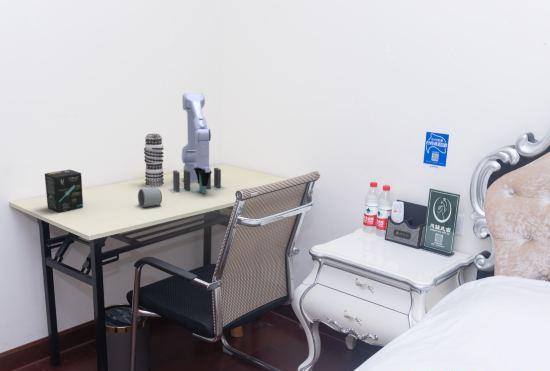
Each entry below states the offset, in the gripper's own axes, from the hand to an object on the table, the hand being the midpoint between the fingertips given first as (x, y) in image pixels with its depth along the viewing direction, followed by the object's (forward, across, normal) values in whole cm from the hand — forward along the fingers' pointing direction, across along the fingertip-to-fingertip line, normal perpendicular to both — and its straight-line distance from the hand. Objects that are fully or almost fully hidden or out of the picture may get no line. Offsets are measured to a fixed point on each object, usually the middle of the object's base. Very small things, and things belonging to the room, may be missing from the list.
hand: (202, 184), depth 239 cm
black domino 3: (+4, -8, +5) cm, 10 cm away
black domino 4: (+4, -8, +10) cm, 13 cm away
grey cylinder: (+5, +10, -27) cm, 29 cm away
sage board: (+4, -8, 0) cm, 9 cm away
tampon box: (+5, +3, -59) cm, 59 cm away
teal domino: (+3, 0, 0) cm, 3 cm away
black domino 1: (+4, -8, -10) cm, 13 cm away
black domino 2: (+4, -8, -5) cm, 10 cm away
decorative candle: (+5, -21, -17) cm, 27 cm away
